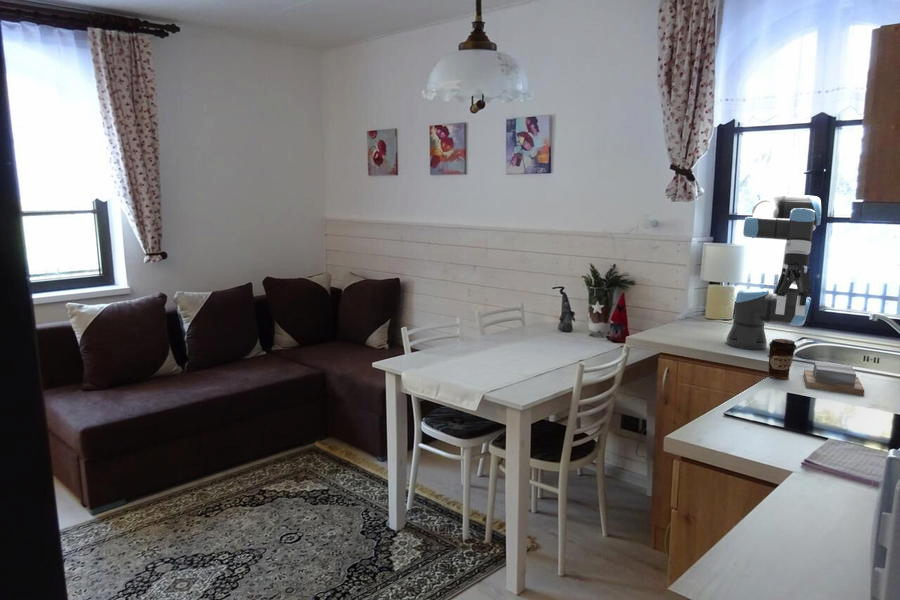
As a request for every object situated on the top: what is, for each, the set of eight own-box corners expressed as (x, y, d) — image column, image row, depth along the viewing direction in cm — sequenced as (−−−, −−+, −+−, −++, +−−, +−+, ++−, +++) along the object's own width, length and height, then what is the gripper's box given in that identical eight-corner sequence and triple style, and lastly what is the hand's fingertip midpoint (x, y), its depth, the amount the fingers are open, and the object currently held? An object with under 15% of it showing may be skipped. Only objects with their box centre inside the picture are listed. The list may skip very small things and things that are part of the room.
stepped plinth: (803, 374, 226) (805, 358, 225) (856, 382, 220) (859, 365, 218) (806, 387, 212) (809, 369, 211) (863, 396, 205) (866, 377, 204)
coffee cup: (795, 382, 217) (800, 344, 215) (769, 379, 219) (774, 342, 216) (787, 374, 226) (792, 338, 223) (762, 372, 227) (766, 336, 225)
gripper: (769, 254, 235) (761, 312, 236) (805, 249, 211) (797, 314, 211) (789, 257, 235) (782, 315, 235) (828, 252, 210) (820, 317, 211)
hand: (789, 315), depth 223 cm, fingers open, 13 cm apart
